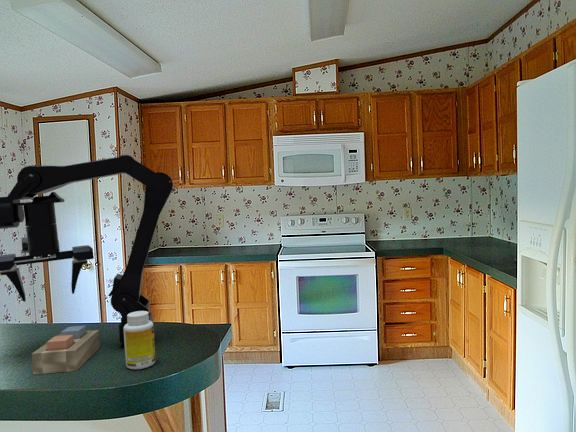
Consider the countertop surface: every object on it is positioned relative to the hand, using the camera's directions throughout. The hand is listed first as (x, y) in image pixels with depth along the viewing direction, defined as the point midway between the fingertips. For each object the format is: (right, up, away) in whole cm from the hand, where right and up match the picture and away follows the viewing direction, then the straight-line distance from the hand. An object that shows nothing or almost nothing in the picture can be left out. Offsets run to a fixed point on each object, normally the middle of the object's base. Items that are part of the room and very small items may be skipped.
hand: (49, 297), depth 93 cm
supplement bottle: (+23, -12, -9) cm, 27 cm away
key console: (+6, -12, -4) cm, 14 cm away
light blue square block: (+6, -9, -1) cm, 11 cm away
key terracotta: (+6, -10, -7) cm, 14 cm away
